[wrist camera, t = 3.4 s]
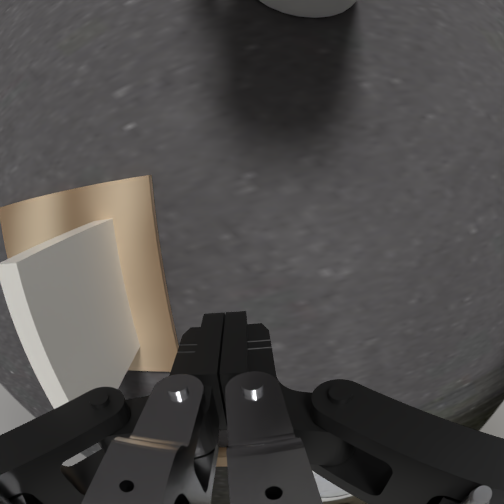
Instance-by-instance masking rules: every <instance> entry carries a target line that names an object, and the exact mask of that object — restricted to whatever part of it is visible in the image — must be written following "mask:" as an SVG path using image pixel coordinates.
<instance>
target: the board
mask: <svg viewBox="0 0 504 504" xmlns="http://www.w3.org/2000/svg"><path fill="white" fill-rule="evenodd" d="M112 218H113V225H114V231H115V237H116V243H117V249H118V255H119V260H120V265H121V270H122V275H123V280H124V284H125V289H126V293H127V298H128V302H129V306H130V310H131V314H132V318H133V322H134V326H135V329H136V333H137V337H138V340H139V344H140V348H139V350H138V352H137V353H136V355H135V357H134V359H133V361H132V363H131V365H130V367H129V369H128V370H133V371H160V372H171V369H172V366H173V363H174V360H175V357H176V354H177V351H178V348H179V345H178V340H177V336H176V331H175V326H174V322H173V317H172V312H171V307H170V302H169V296H168V291H167V285H166V280H165V274H164V268H163V262H162V255H161V249H160V242H159V235H158V228H157V220H156V212H155V204H154V195H153V185H152V175H147V176H141V177H134V178H128V179H122V180H117V181H111V182H105V183H100V184H95V185H90V186H85V187H80V188H75V189H71V190H66V191H62V192H57V193H53V194H49V195H45V196H41V197H37V198H33V199H29V200H25V201H21V202H17V203H14V204H10V205H7V206H3V207H0V221H1V227H2V233H3V238H4V243H5V248H6V253H7V257H8V259H9V258H11V257H13V256H15V255H17V254H19V253H21V252H23V251H26V250H28V249H30V248H32V247H34V246H36V245H39V244H41V243H43V242H45V241H48V240H50V239H52V238H54V237H57V236H59V235H61V234H64V233H66V232H69V231H71V230H73V229H76V228H78V227H81V226H83V225H86V224H88V223H91V222H93V221H98V220H105V219H112Z"/></svg>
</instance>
